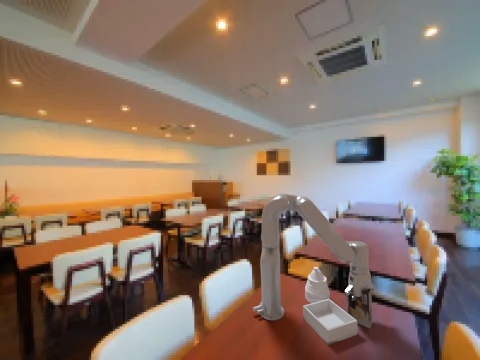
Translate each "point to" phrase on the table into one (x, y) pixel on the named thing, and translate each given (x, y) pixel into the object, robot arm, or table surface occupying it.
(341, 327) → the bin
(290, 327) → the table surface
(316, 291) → the honey pot
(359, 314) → the coffee box
